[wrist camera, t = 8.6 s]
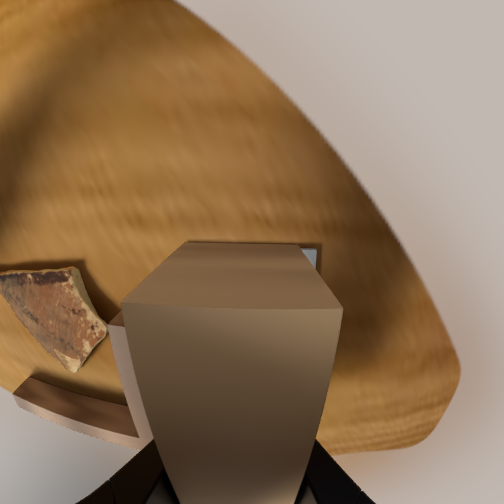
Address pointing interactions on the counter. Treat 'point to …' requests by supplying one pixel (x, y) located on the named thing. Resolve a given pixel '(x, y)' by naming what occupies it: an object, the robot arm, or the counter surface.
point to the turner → (233, 367)
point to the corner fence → (94, 401)
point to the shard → (55, 312)
